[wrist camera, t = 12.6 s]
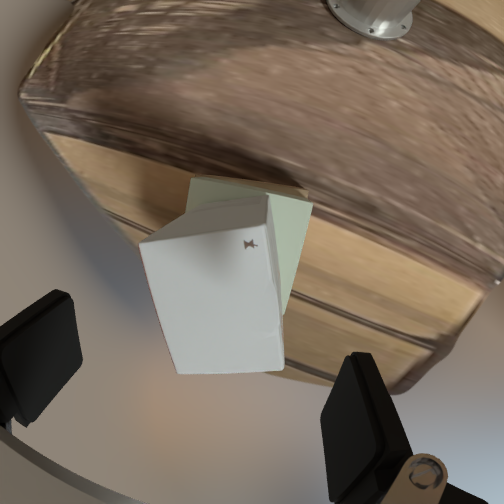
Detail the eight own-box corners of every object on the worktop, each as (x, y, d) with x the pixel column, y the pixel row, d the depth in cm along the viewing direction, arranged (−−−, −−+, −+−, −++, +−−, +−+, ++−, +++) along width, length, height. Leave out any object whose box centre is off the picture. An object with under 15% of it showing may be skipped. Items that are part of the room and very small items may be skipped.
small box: (198, 203, 25) (134, 239, 13) (269, 193, 25) (269, 220, 12) (214, 288, 28) (175, 377, 15) (281, 280, 27) (287, 371, 14)
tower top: (203, 176, 30) (191, 177, 25) (306, 198, 30) (313, 203, 25) (188, 273, 33) (174, 289, 28) (282, 294, 33) (284, 314, 28)
